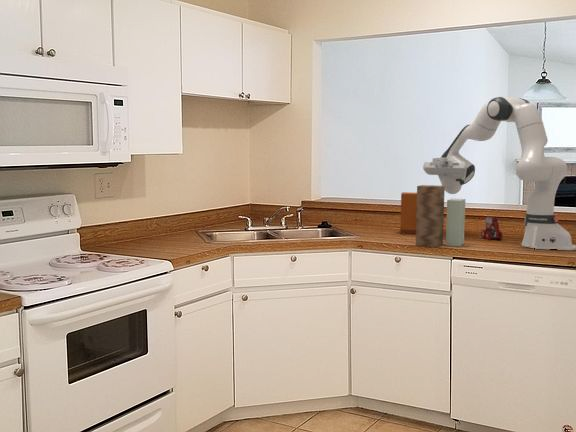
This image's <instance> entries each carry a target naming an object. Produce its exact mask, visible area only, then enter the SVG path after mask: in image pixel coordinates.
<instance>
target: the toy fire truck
mask: <svg viewBox="0 0 576 432" xmlns="http://www.w3.org/2000/svg"><path fill="white" fill-rule="evenodd" d="M498 221H499V219H498V218H497V217H493V216H489V215H488V216H486V218H485V222H486V224H485V225H486V226H485V229H483V230H481V233H480V234H481V235H480V236H481V238H482V239H486V240H487V241H490V240H492V239H496V240H497V241H501V240H502V239H503V232H502V231H500V224H499V222H498Z"/></svg>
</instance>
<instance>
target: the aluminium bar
mask: <svg viewBox="0 0 576 432" xmlns="http://www.w3.org/2000/svg"><path fill="white" fill-rule="evenodd" d="M446 159H449V158H441V157H433V158H432V162H433V164H432V165H444V164H446Z"/></svg>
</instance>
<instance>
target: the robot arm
mask: <svg viewBox="0 0 576 432" xmlns="http://www.w3.org/2000/svg"><path fill="white" fill-rule="evenodd" d="M501 122H507V123H514V124H515V126H516V129H517V130H516V132H517V135H518V138H519V143H520V147H521V148H520V149H521V155H520V160H519V161H518V163H517V165H516V168H515V173H516V175H517V177H518V179H519V180H521V181H523V182H527V183H530V184H531V183H534V187H533V189H532V191H530V192H529V193H528V195H527V198H526V213H525V215H524V226H525V227H524V235H523V239H522V242H521V244H520V245H521V247H525V248H526V247H527V248H531V249H534V248H535V249H534V250H550V249H557V250H559V251H576V244H573V243H572V235H571V234H570V232H569V231H568V230H566V229H565V227H562V226H561V225H560V224H559V219H560V218H559V216H557V215H555V214H554V212H555V211H554V210H555V198H556V194H557V190H558V189H559V188H558V187H559V185H560V183H561V182H562V180H563V179H564V178H565V177H566V175H567V173H568V165H567V163H566V161H565V160H563V159H562V158H560V157H555V156H545V154H544V153H545V150H544V149H545V146H546V145H547V144H548V136H547V133H546V129H545V124H544V122H543V119H542V115H541V114H540V111H539V109H538V108H537V106H536V105H535V104H534V103H530V101H528V100H527V99H525V98H521V97H520V98H519V97H512V96H497V97H494V98H491V99H490V100H489V101H487V102H486V103H485V104H483V106H482V107H481V108H480V110H479V112H478V113H477V115H476V117H475V119H474V120H473V122H472V123H471V124H466V125H465V126H464V127H463V128H462V129H461V130H460V131H459V133H458V134H457V136H456V137H455V138H454V139H453V141H452V142H451V144H450V145H449V147H448V148H447V149H446V150H445V151H444V152H443V153H442V155H441V156H440V158H449V159H446V164H444V165H432V164H433V161H424V162H423V165H422V166H423V167H422V168H423V171H424V172H425V174H427V175H430V176H438V179H439V181H440V184H441V186H445V192H446V193H447V194H450V195H455V194H458V193H459V192H460V191H461V189H462V187H463V185H465V184H467V183H469V182H470V181H471V180H472V179H473V178H474V176H475V173H476V167H475V164H473V163H472V162H471V161H469V159H467V158H465V157H463V156H462V155H461V154H460V150H461V149H462V147H463V146H464V145H465V143H466V142H467V141H468V140H473V141H476V142H485V141H489V140H490V139H492V138H493V136H494V135H495V134H496V132H497V130H498V128H499V126H500V124H501ZM557 250H556V251H557Z"/></svg>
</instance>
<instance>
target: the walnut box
mask: <svg viewBox="0 0 576 432" xmlns="http://www.w3.org/2000/svg"><path fill="white" fill-rule="evenodd" d="M445 192H446V191H445V186H442V185H436V184H435V185H433V184H432V185H431V184H430V185H429V184H428V185H427V184H422V185H417V186H416V193H417V212H416V235H415V246H418V247H433V248H437V247H438V248H439V247H441V246H442V245H444V223H445V222H444V219H445V217H444V216H445Z"/></svg>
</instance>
